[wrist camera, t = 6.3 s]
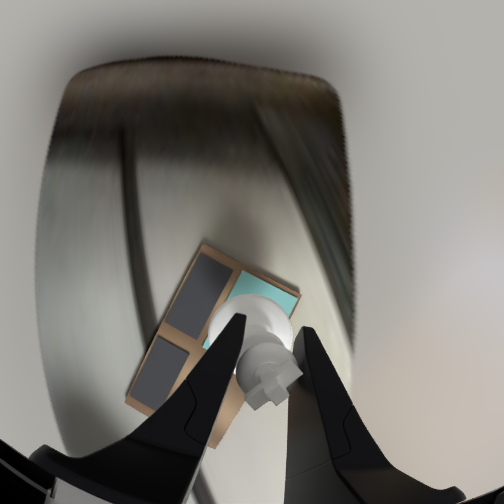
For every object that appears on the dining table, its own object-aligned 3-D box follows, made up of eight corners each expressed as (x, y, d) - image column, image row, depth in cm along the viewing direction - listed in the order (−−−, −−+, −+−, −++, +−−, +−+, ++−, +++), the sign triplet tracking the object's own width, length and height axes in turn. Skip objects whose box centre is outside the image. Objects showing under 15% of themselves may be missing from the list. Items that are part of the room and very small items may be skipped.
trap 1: (197, 339, 21) (196, 340, 21) (165, 321, 21) (164, 322, 21) (233, 270, 22) (233, 269, 22) (200, 252, 22) (200, 252, 22)
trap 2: (159, 412, 20) (159, 413, 20) (130, 395, 20) (129, 395, 20) (189, 353, 21) (189, 354, 21) (158, 336, 21) (157, 336, 21)
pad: (257, 373, 21) (257, 374, 21) (202, 346, 21) (202, 347, 21) (297, 298, 22) (298, 298, 22) (242, 270, 22) (242, 270, 22)
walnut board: (215, 445, 20) (215, 449, 20) (126, 400, 20) (124, 402, 20) (300, 295, 22) (302, 295, 22) (203, 244, 22) (203, 243, 22)
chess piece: (191, 328, 16) (140, 378, 6) (256, 276, 17) (293, 257, 7) (244, 390, 16) (261, 493, 6) (307, 339, 17) (395, 391, 7)
